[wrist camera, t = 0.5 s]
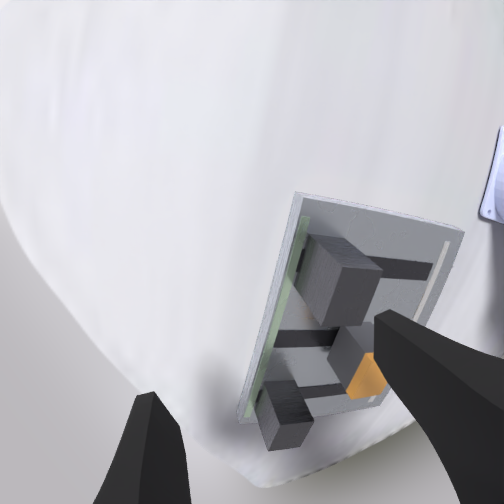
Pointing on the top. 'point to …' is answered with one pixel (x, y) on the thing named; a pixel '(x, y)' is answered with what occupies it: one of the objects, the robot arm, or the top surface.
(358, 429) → the top surface
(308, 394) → the panel
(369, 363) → the toggle
